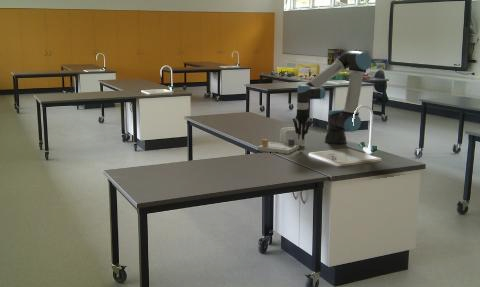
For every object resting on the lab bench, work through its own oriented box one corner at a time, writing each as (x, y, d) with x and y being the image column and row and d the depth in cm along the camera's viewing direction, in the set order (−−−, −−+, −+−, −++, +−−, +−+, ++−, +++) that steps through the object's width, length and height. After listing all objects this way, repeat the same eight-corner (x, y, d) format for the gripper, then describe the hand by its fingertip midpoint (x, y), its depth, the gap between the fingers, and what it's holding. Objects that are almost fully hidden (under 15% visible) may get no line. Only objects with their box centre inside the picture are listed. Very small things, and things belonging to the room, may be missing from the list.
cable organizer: (284, 147, 361) (284, 130, 358) (279, 143, 371) (279, 127, 368) (304, 146, 364) (305, 129, 362) (299, 142, 374) (300, 126, 372)
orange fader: (268, 145, 351) (268, 139, 350) (266, 146, 348) (266, 140, 347) (264, 144, 352) (264, 139, 351) (262, 145, 350) (262, 139, 349)
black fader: (294, 144, 354) (294, 138, 353) (292, 145, 351) (292, 139, 350) (290, 144, 355) (290, 138, 354) (288, 145, 353) (288, 139, 352)
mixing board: (298, 149, 355) (298, 145, 354) (288, 154, 340) (288, 150, 339) (268, 145, 365) (268, 141, 364) (257, 150, 350) (257, 146, 350)
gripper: (291, 108, 344) (289, 144, 349) (309, 110, 338) (308, 146, 343) (295, 107, 351) (294, 142, 356) (314, 108, 345) (312, 144, 350)
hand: (301, 144), depth 350 cm, fingers closed
